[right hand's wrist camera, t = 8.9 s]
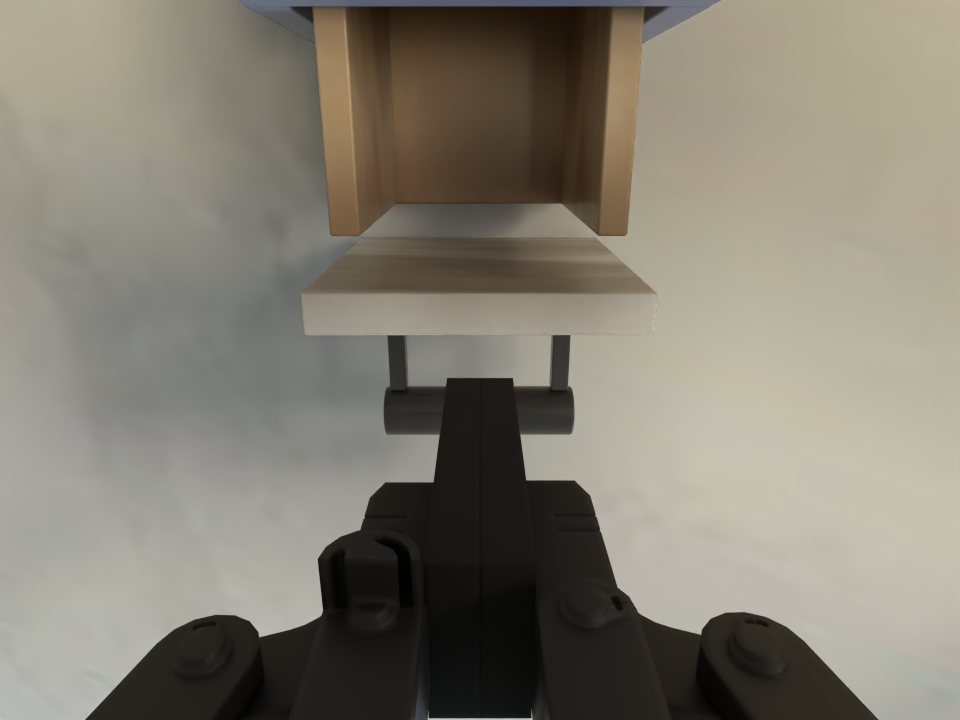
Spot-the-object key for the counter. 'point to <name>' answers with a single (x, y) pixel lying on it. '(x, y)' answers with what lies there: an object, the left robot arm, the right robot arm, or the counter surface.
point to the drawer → (478, 183)
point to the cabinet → (293, 5)
